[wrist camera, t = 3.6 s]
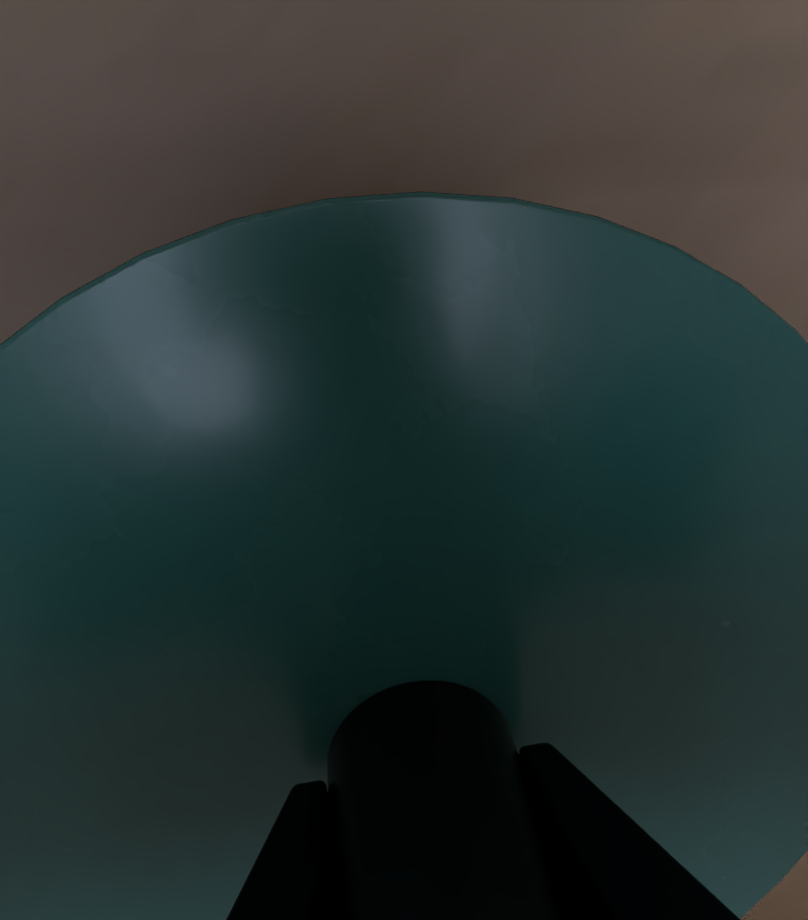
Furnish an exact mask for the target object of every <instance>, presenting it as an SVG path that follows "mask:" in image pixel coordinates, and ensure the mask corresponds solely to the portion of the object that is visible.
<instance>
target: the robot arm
mask: <svg viewBox="0 0 808 920" xmlns="http://www.w3.org/2000/svg"><path fill="white" fill-rule="evenodd" d="M519 757H520V759H521V762H522V765H523V768H524V770H525V773H526V776H527V779H528V781H529V784H530V787H531V789H532V792H533V795H534V798H535V800H536V803H537V806H538V809H539V811H540V814H541V817H542V820H543V822H544V825H545V828H546V830H547V833H548V836H549V839H550V841H551V844H552V847H553V850H554V852H555V855H556V858H557V860H558V863H559V866H560V869H561V871H562V874H563V877H564V880H565V882H566V885H567V888H568V890H569V893H570V896H571V899H572V901H573V904H574V907H575V910H576V912H577V915H578V918H579V920H741V919H739V918H738V917H737V916H736V915H735V914H734V913H733V912H732V911H731V910H730V909H729V908H728V907H727V906H725V905H724V904H723V903H722V902H721V901H720V900H719V899H718V898H717V897H716V896H715V895H714V894H713V893H711V892H710V891H709V890H708V889H707V888H706V887H705V886H704V885H703V884H702V883H701V882H700V881H698V880H697V879H696V878H695V877H694V876H693V875H692V874H691V873H690V872H689V871H688V870H687V869H686V868H684V867H683V866H682V865H681V864H680V863H679V862H678V861H677V860H676V859H675V858H674V857H673V856H672V855H670V854H669V853H668V852H667V851H666V850H665V849H664V848H663V847H662V846H661V845H660V844H659V843H658V842H656V841H655V840H654V839H653V838H652V837H651V836H650V835H649V834H648V833H647V832H646V831H645V830H643V829H642V828H641V827H640V826H639V825H638V824H637V823H636V822H635V821H634V820H633V819H632V818H631V817H629V816H628V815H627V814H626V813H625V812H624V811H623V810H622V809H621V808H620V807H619V806H618V805H617V804H615V803H614V802H613V801H612V800H611V799H610V798H609V797H608V796H607V795H606V794H605V793H604V792H603V791H601V790H600V789H599V788H598V787H597V786H596V785H595V784H594V783H593V782H592V781H591V780H590V779H588V778H587V777H586V776H585V775H584V774H583V773H582V772H581V771H580V770H579V769H578V768H577V767H576V766H574V765H573V764H572V763H571V762H570V761H569V760H568V759H567V758H566V757H565V756H564V755H563V754H562V753H560V752H559V751H558V750H557V749H556V748H555V747H554V746H553V745H551V744H550V743H547V742H544V743H538V744H532V745H526V746H523V747H521V748H520V750H519ZM226 920H329V865H328V792H327V787H326V784H325V782H323V781H321V780H318V781H312V782H306V783H300V784H296V785H295V786H294V787H293V788H292V789H291V791H290V793H289V795H288V797H287V799H286V801H285V803H284V805H283V807H282V809H281V811H280V813H279V815H278V817H277V819H276V821H275V823H274V825H273V827H272V829H271V831H270V833H269V835H268V837H267V839H266V841H265V843H264V845H263V847H262V849H261V851H260V853H259V855H258V857H257V859H256V861H255V863H254V865H253V867H252V869H251V871H250V873H249V875H248V877H247V879H246V881H245V883H244V885H243V887H242V889H241V891H240V893H239V895H238V897H237V899H236V901H235V903H234V905H233V907H232V909H231V911H230V913H229V915H228V917H227V919H226Z"/></svg>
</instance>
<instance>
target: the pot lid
mask: <svg viewBox="0 0 808 920" xmlns="http://www.w3.org/2000/svg"><path fill="white" fill-rule="evenodd" d="M544 742H547V743H550V744H551V745H553V746H554V747H555V748H556V749H557V750H558V751H559V752H560V753H562V754H563V755H564V756H565V757H566V758H567V759H568V760H569V761H570V762H571V763H572V764H573V765H574V766H576V767H577V768H578V769H579V770H580V771H581V772H582V773H583V774H584V775H585V776H586V777H587V778H588V779H590V780H591V781H592V782H593V783H594V784H595V785H596V786H597V787H598V788H599V789H600V790H601V791H603V792H604V793H605V794H606V795H607V796H608V797H609V798H610V799H611V800H612V801H613V802H614V803H615V804H617V805H618V806H619V807H620V808H621V809H622V810H623V811H624V812H625V813H626V814H627V815H628V816H629V817H631V818H632V819H633V820H634V821H635V822H636V823H637V824H638V825H639V826H640V827H641V828H642V829H643V830H645V831H646V832H647V833H648V834H649V835H650V836H651V837H652V838H653V839H654V840H655V841H656V842H658V843H659V844H660V845H661V846H662V847H663V848H664V849H665V850H666V851H667V852H668V853H669V854H670V855H672V856H673V857H674V858H675V859H676V860H677V861H678V862H679V863H680V864H681V865H682V866H683V867H684V868H686V869H687V870H688V871H689V872H690V873H691V874H692V875H693V876H694V877H695V878H696V879H697V880H698V881H700V882H701V883H702V884H703V885H704V886H705V887H706V888H707V889H708V890H709V891H710V892H711V893H713V894H714V895H715V896H716V897H717V898H718V899H719V900H720V901H721V902H722V903H723V904H724V905H725V906H727V907H728V908H729V909H730V910H731V911H732V912H733V913H734V914H735V915H736V916H737V917H738V918H739V919H740V918H741V917H742V916H744V915H745V914H746V913H747V912H748V911H749V910H750V909H751V908H752V907H753V906H754V905H755V904H757V903H758V902H759V901H760V900H761V899H762V898H763V897H764V896H765V895H766V894H767V893H768V892H769V891H770V890H771V889H772V888H773V887H774V886H776V885H777V884H778V883H779V882H780V881H781V880H782V879H783V878H784V876H785V875H786V874H787V873H788V872H789V871H790V870H791V868H792V867H793V866H794V865H795V864H796V863H797V862H798V860H799V859H800V858H801V857H802V856H803V855H804V854H805V852H806V851H807V850H808V343H807V342H806V341H805V340H804V339H803V337H802V336H801V335H800V334H799V333H798V332H797V331H796V330H795V329H794V328H793V327H792V326H791V325H789V324H788V323H787V322H786V321H784V320H783V319H782V318H781V317H780V316H778V315H777V314H776V313H775V312H774V311H772V310H771V309H770V308H769V307H767V306H766V305H765V304H764V303H763V302H761V301H760V300H759V299H758V298H757V297H755V296H754V295H753V294H752V293H750V292H749V291H748V290H747V289H746V288H744V287H743V286H742V285H741V284H739V283H737V282H736V281H734V280H732V279H730V278H729V277H727V276H725V275H723V274H722V273H720V272H718V271H717V270H715V269H713V268H711V267H710V266H708V265H706V264H704V263H703V262H701V261H699V260H698V259H696V258H694V257H692V256H691V255H689V254H687V253H685V252H684V251H682V250H680V249H679V248H677V247H675V246H673V245H670V244H668V243H665V242H662V241H660V240H657V239H655V238H652V237H649V236H647V235H644V234H642V233H639V232H636V231H634V230H631V229H629V228H626V227H623V226H621V225H618V224H616V223H613V222H611V221H608V220H605V219H603V218H600V217H597V216H593V215H588V214H584V213H579V212H575V211H570V210H565V209H561V208H556V207H552V206H547V205H543V204H538V203H533V202H529V201H524V200H520V199H515V198H507V197H492V196H478V195H463V194H449V193H434V192H408V193H395V194H382V195H368V196H355V197H341V198H328V199H322V200H318V201H313V202H309V203H304V204H300V205H295V206H291V207H286V208H281V209H277V210H272V211H268V212H263V213H259V214H254V215H250V216H245V217H240V218H236V219H232V220H229V221H226V222H224V223H221V224H218V225H216V226H213V227H210V228H208V229H205V230H202V231H200V232H197V233H194V234H192V235H189V236H186V237H184V238H181V239H178V240H176V241H173V242H170V243H168V244H165V245H162V246H160V247H157V248H154V249H152V250H149V251H146V252H144V253H142V254H140V255H138V256H136V257H134V258H133V259H131V260H129V261H127V262H125V263H124V264H122V265H120V266H118V267H116V268H114V269H113V270H111V271H109V272H107V273H105V274H104V275H102V276H100V277H98V278H96V279H95V280H93V281H91V282H89V283H87V284H85V285H84V286H82V287H80V288H78V289H76V290H75V291H73V292H71V293H69V294H67V295H66V296H64V297H62V298H60V299H59V300H58V301H56V302H55V303H54V304H52V305H51V306H50V307H48V308H47V309H46V310H45V311H43V312H42V313H41V314H39V315H38V316H37V317H35V318H34V319H33V320H32V321H30V322H29V323H28V324H26V325H25V326H24V327H22V328H21V329H20V330H19V331H17V332H16V333H15V334H13V335H12V336H11V337H9V338H8V339H7V340H6V341H4V342H3V343H2V344H0V920H226V919H227V917H228V915H229V913H230V911H231V909H232V907H233V905H234V903H235V901H236V899H237V897H238V895H239V893H240V891H241V889H242V887H243V885H244V883H245V881H246V879H247V877H248V875H249V873H250V871H251V869H252V867H253V865H254V863H255V861H256V859H257V857H258V855H259V853H260V851H261V849H262V847H263V845H264V843H265V841H266V839H267V837H268V835H269V833H270V831H271V829H272V827H273V825H274V823H275V821H276V819H277V817H278V815H279V813H280V811H281V809H282V807H283V805H284V803H285V801H286V799H287V797H288V795H289V793H290V791H291V789H292V788H293V787H294V786H295V785H296V784H300V783H306V782H312V781H318V780H321V781H323V782H325V784H326V787H327V792H328V865H329V920H579V918H578V915H577V912H576V910H575V907H574V904H573V901H572V899H571V896H570V893H569V890H568V888H567V885H566V882H565V880H564V877H563V874H562V871H561V869H560V866H559V863H558V860H557V858H556V855H555V852H554V850H553V847H552V844H551V841H550V839H549V836H548V833H547V830H546V828H545V825H544V822H543V820H542V817H541V814H540V811H539V809H538V806H537V803H536V800H535V798H534V795H533V792H532V789H531V787H530V784H529V781H528V779H527V776H526V773H525V770H524V768H523V765H522V762H521V759H520V757H519V750H520V748H521V747H523V746H526V745H532V744H538V743H544Z"/></svg>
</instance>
